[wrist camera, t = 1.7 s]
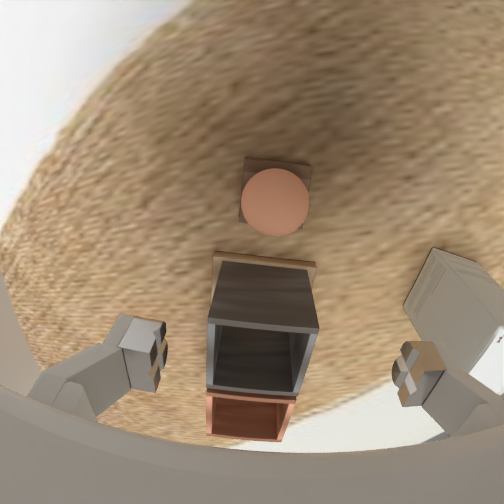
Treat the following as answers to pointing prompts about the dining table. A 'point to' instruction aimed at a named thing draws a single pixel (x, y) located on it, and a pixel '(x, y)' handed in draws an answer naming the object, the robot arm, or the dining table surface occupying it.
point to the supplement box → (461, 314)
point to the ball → (275, 202)
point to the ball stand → (258, 165)
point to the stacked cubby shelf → (257, 344)
